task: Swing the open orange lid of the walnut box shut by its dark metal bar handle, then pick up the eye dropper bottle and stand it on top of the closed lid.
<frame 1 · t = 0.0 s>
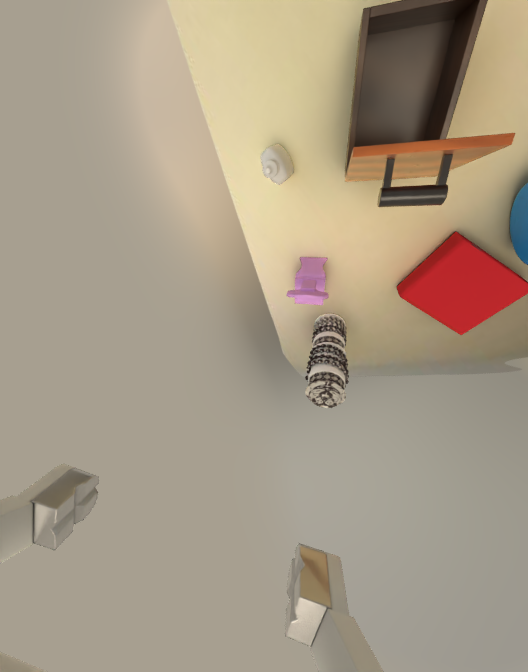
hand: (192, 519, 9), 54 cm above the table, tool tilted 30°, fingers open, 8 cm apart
lid: (399, 185, 30), point 18 cm above the table, hinge at 75.0°
chest: (393, 104, 38), on the table
red device housing: (454, 281, 53), on the table
toy chair: (312, 274, 60), on the table
decorative candle: (329, 325, 68), on the table
eye dropper bottle: (282, 161, 47), on the table
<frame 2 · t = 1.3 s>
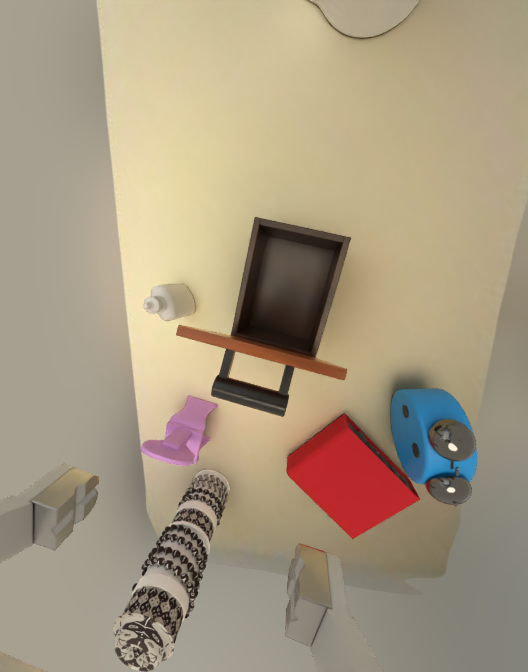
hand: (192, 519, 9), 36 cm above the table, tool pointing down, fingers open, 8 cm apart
lid: (262, 369, 26), point 18 cm above the table, hinge at 75.0°
chest: (289, 289, 42), on the table
red device housing: (346, 465, 47), on the table
toy chair: (199, 418, 50), on the table
alarm clock: (406, 410, 43), on the table
decorative candle: (211, 485, 53), on the table
eye dropper bottle: (185, 299, 45), on the table
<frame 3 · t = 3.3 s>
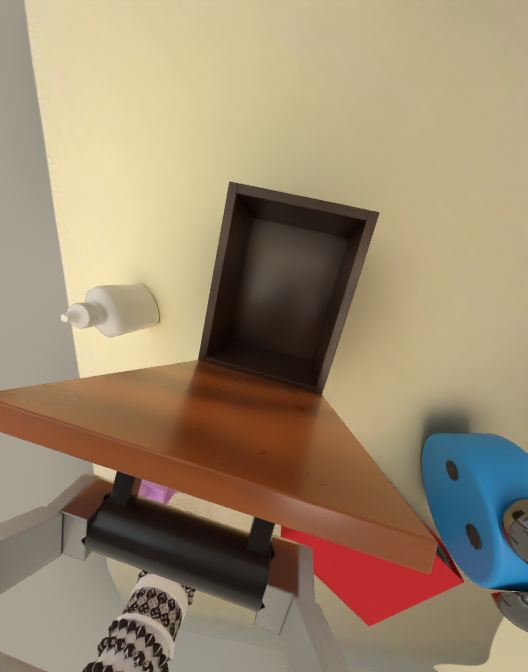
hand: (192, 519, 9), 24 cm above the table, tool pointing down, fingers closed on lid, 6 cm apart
lid: (232, 435, 15), point 18 cm above the table, hinge at 75.0°, touching gripper
chest: (284, 292, 31), on the table
red device housing: (359, 523, 36), on the table
toy chair: (169, 458, 39), on the table
alarm clock: (442, 455, 32), on the table
decorative candle: (186, 541, 42), on the table
eye dropper bottle: (146, 305, 34), on the table
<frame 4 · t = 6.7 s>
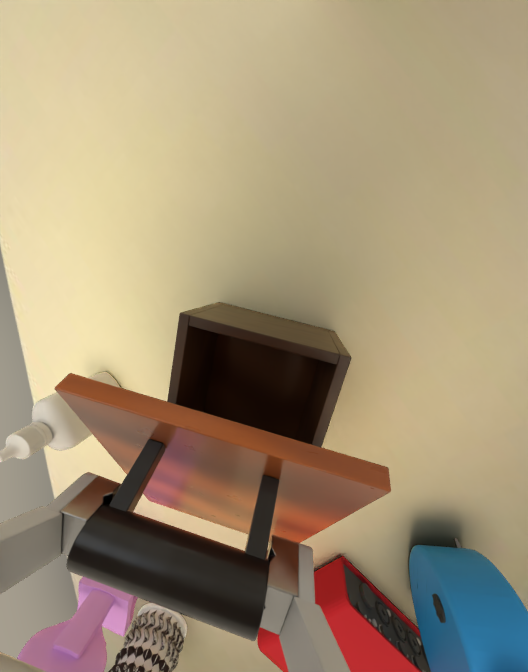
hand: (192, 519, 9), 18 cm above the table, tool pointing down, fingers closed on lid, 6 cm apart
lid: (203, 533, 13), point 15 cm above the table, hinge at 29.7°, touching gripper
chest: (258, 386, 28), on the table
red device housing: (344, 617, 34), on the table
toy chair: (142, 541, 36), on the table
alarm clock: (432, 558, 30), on the table
decorative candle: (163, 620, 40), on the table
eye dropper bottle: (112, 391, 31), on the table
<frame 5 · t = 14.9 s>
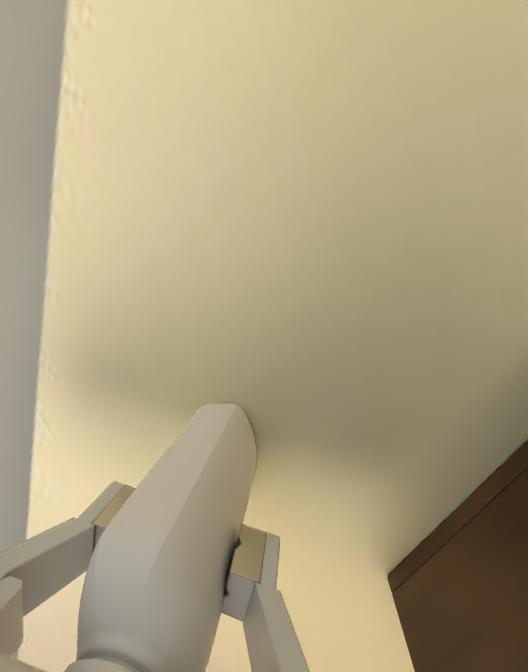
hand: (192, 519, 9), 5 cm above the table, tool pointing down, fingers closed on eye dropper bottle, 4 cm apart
eye dropper bottle: (228, 443, 14), on the table, touching gripper
when the fingers open (14 cm above the table, at t = 22.2 s): eye dropper bottle stays where it is, resting on lid.
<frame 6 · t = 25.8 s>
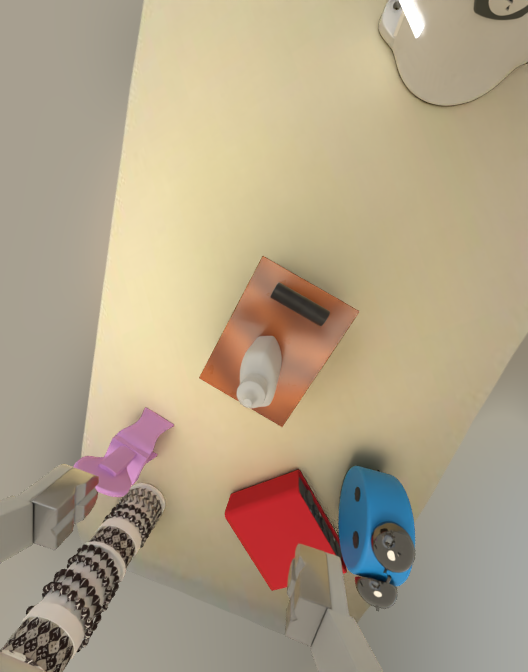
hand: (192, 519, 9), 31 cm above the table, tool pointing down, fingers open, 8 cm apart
lid: (271, 351, 28), point 11 cm above the table, hinge at -0.2°, touching chest, eye dropper bottle
red device housing: (286, 516, 47), on the table
toy chair: (151, 432, 47), on the table
alarm clock: (359, 482, 43), on the table
decorative candle: (147, 499, 51), on the table
eye dropper bottle: (268, 356, 30), point 9 cm above the table, touching lid
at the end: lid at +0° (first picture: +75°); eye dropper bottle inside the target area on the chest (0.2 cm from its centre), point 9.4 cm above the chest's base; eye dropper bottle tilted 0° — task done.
